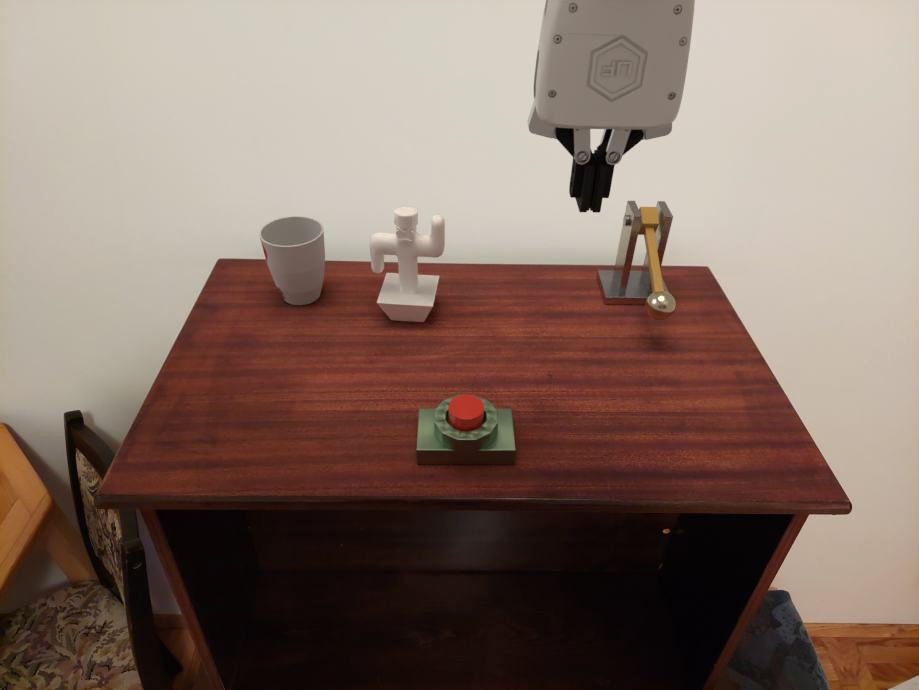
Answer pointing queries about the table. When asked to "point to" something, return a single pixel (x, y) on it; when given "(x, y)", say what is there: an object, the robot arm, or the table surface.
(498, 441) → the button box
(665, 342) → the table surface
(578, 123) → the robot arm
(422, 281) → the figurine
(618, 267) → the bracket
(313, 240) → the cup
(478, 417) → the button
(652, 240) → the lever
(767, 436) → the table surface
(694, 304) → the table surface
